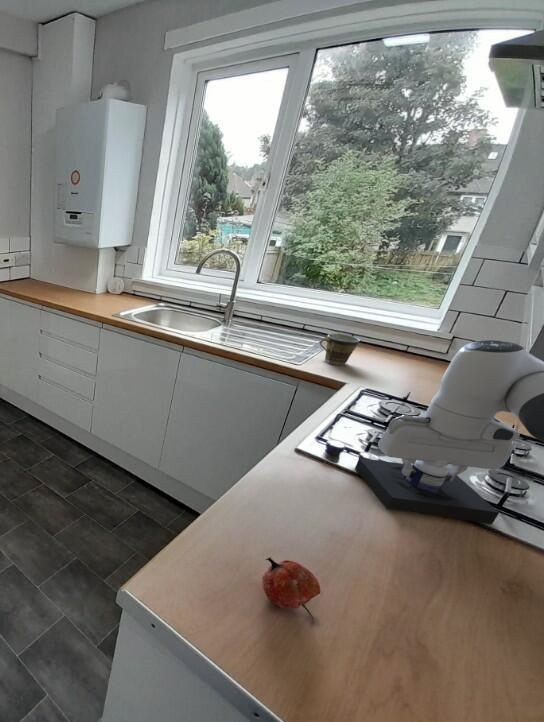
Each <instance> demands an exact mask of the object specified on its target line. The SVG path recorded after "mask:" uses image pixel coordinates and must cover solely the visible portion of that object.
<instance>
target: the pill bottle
mask: <svg viewBox="0 0 544 722" xmlns="http://www.w3.org/2000/svg"><path fill="white" fill-rule="evenodd" d="M411 465H412V466H413V468H414V469H415V470H417V472H416V474H415V476H414V477H410V476H406V478H405V480H406V481H407V482H408V483H409V484H411V485H413V486H414V487H417V488H419V489H421V490H425V491H428V492H435V493H436V492H438V491H439V489H440V487H441V485H442V484H443V482H444V480H445V478H446V476H447V474H448V467H447V466H448V465H449V464H447V461H442V460H439V461H437V462H427V461H418V460H416V462H415V464H412V463H411Z"/></svg>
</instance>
